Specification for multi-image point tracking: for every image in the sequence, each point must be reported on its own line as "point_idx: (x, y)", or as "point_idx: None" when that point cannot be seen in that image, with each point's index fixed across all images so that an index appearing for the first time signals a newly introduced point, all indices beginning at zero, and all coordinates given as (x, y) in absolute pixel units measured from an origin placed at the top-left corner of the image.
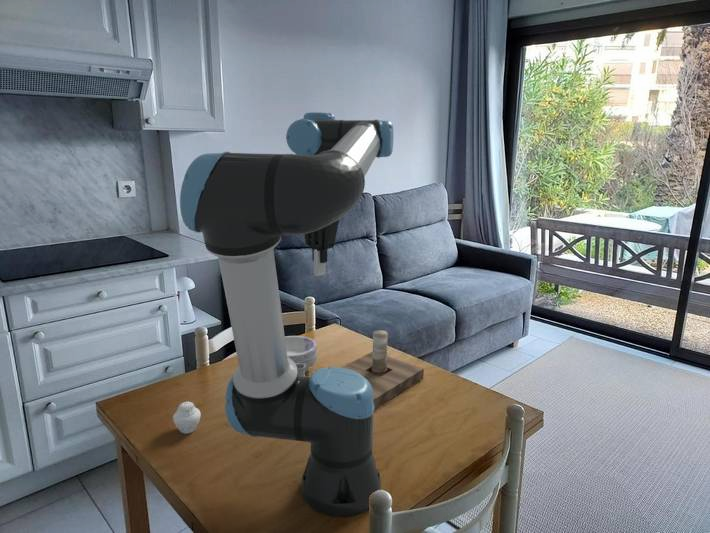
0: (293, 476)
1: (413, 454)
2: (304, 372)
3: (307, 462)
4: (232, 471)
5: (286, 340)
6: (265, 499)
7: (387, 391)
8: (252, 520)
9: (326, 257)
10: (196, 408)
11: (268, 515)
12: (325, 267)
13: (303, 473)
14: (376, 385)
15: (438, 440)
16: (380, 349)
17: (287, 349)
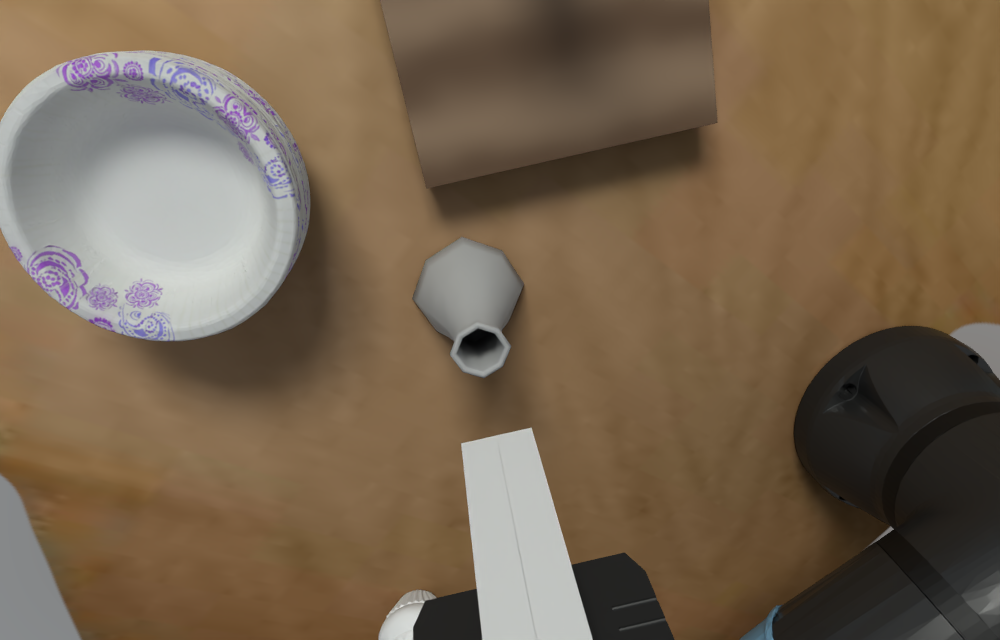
0: (769, 475)
1: (951, 173)
2: (494, 323)
3: (860, 508)
4: (654, 569)
5: (26, 169)
6: (782, 547)
7: (708, 4)
8: (810, 584)
9: (663, 624)
10: (413, 625)
11: (823, 558)
12: (544, 480)
13: (829, 491)
14: (640, 9)
15: (979, 47)
16: None
17: (76, 170)
